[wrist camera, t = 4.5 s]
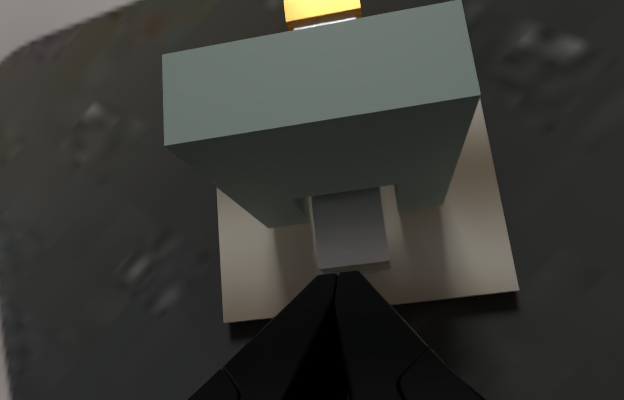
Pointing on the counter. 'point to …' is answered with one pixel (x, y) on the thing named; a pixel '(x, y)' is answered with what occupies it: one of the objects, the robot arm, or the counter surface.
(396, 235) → the guide board
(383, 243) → the grey square-edged bar
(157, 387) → the counter surface
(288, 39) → the sleeve collar
